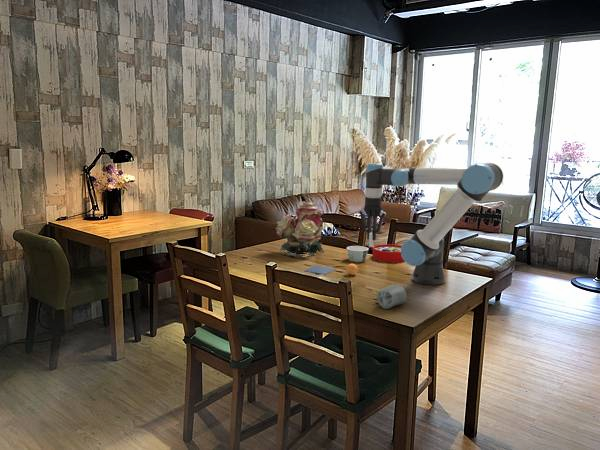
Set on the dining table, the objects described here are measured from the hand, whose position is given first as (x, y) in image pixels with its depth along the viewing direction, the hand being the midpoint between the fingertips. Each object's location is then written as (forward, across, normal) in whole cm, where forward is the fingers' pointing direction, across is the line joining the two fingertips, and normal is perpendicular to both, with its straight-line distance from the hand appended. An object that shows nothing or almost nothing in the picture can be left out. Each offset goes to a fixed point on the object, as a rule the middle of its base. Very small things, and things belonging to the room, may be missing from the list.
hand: (371, 246), depth 241 cm
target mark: (+15, +26, 0) cm, 30 cm away
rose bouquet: (+16, +51, -29) cm, 61 cm away
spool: (+15, -22, +35) cm, 44 cm away
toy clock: (+16, +4, -44) cm, 47 cm away
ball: (+12, +9, 0) cm, 15 cm away
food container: (+16, +18, -30) cm, 38 cm away
